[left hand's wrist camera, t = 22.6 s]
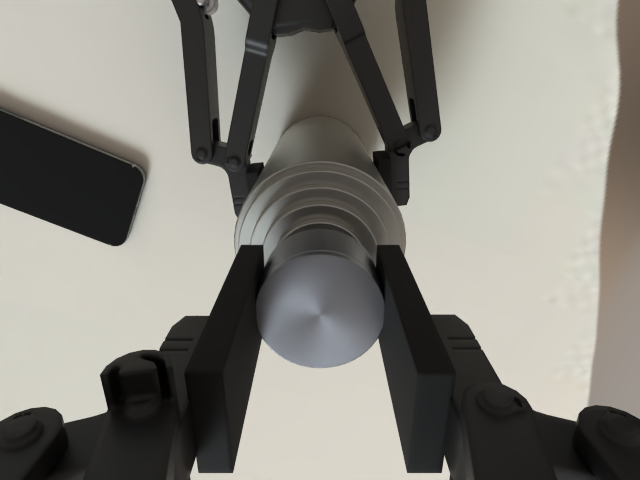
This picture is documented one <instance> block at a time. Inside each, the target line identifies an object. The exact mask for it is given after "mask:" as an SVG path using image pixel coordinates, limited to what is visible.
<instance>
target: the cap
mask: <svg viewBox="0 0 640 480" xmlns="http://www.w3.org/2000/svg"><path fill="white" fill-rule="evenodd" d="M384 307H385V300H384V296H383V292H382V289H381V285H380V281H379V278H378V274H377V271H376V267H375V264H374V262H373V259H372V258H371V256H370V254H369V253H368V251H367V250H366V249H365V248H364V247H363V246H362V245H361V244H360V243H359V242H358V241H356V240H355V239H354V238H352V237H350V236H348V235H346V234H344V233H341V232H338V231H334V230H328V229H312V230H306V231H302V232H299V233H296V234H294V235H292V236H290V237H288V238H287V239H285V240H284V241H282V242H281V243H280V244H279V245H278V246H277V247H276V248H275V249H274V250H273V252H272V253H271V255H270V256H269V258H268V260H267V262H266V265H265V268H264V272H263V275H262V279H261V282H260V286H259V290H258V293H257V297H256V318H257V328H258V331H259V333H260V335H261V337H262V338H263V340H264V341H265V342H266V344H267V345H268V346H269V347H270V348H271V349H272V350H273V351H274V352H275V353H276V354H278V355H279V356H281V357H282V358H284V359H286V360H288V361H290V362H292V363H295V364H298V365H301V366H306V367H312V368H328V367H334V366H339V365H342V364H346V363H348V362H350V361H353V360H355V359H356V358H358V357H360V356H361V355H362V354H364V353H365V352H366V351H367V350H368V349H369V348H370V347H371V346H372V345H373V344H374V343H375V341H376V340H377V339H378V337H379V335H380V333H381V331H382V329H383V322H384Z"/></svg>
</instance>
